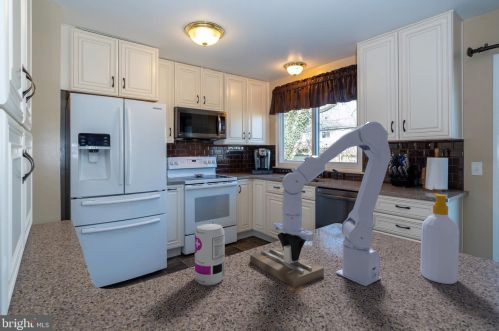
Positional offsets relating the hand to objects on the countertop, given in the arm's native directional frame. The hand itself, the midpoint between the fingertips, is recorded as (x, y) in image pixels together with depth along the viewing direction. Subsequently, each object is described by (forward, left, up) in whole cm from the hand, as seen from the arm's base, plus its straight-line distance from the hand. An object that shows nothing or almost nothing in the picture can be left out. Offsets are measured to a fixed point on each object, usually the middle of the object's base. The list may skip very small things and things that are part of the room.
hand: (291, 258), depth 77 cm
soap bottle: (-26, -33, -4) cm, 42 cm away
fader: (0, 0, -1) cm, 1 cm away
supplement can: (+10, +22, -4) cm, 25 cm away
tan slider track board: (+3, 0, -4) cm, 5 cm away
